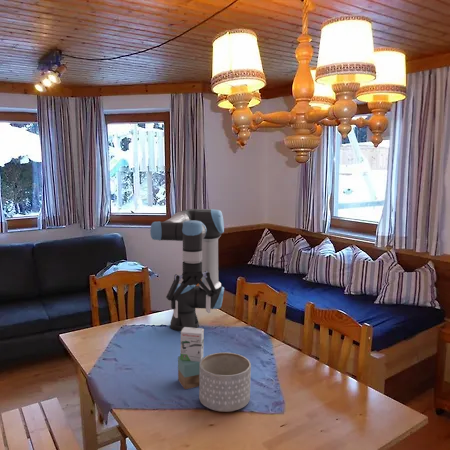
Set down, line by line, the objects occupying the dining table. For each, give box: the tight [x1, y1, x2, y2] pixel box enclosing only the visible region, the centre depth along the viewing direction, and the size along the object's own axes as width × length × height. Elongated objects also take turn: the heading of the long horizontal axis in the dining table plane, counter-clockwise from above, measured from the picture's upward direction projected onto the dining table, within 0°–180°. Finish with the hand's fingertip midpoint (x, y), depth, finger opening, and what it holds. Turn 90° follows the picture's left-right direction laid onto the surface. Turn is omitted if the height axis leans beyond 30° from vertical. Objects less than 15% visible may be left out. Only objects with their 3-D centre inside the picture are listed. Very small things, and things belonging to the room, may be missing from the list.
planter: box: [198, 351, 252, 413], centre depth 154 cm, size 19×19×14 cm
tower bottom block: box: [177, 368, 199, 390], centre depth 167 cm, size 8×8×5 cm
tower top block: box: [177, 355, 200, 378], centre depth 166 cm, size 8×8×5 cm
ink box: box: [179, 327, 205, 362], centre depth 166 cm, size 9×5×12 cm, turn 82°
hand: (192, 314), depth 165 cm, fingers open, 13 cm apart
